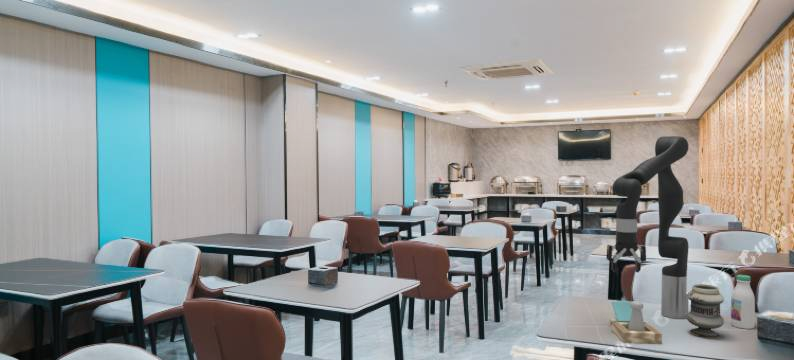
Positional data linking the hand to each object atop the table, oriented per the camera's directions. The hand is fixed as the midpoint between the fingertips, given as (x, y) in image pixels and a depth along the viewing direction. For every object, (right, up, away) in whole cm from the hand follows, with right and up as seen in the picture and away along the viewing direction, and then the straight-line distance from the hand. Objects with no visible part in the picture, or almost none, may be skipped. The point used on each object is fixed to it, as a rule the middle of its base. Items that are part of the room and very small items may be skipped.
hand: (626, 271), depth 202 cm
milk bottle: (+47, -22, +3) cm, 52 cm away
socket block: (-1, -22, -6) cm, 23 cm away
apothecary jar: (+26, -22, -7) cm, 35 cm away
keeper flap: (0, -16, 0) cm, 16 cm away
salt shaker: (-1, -22, -11) cm, 25 cm away
